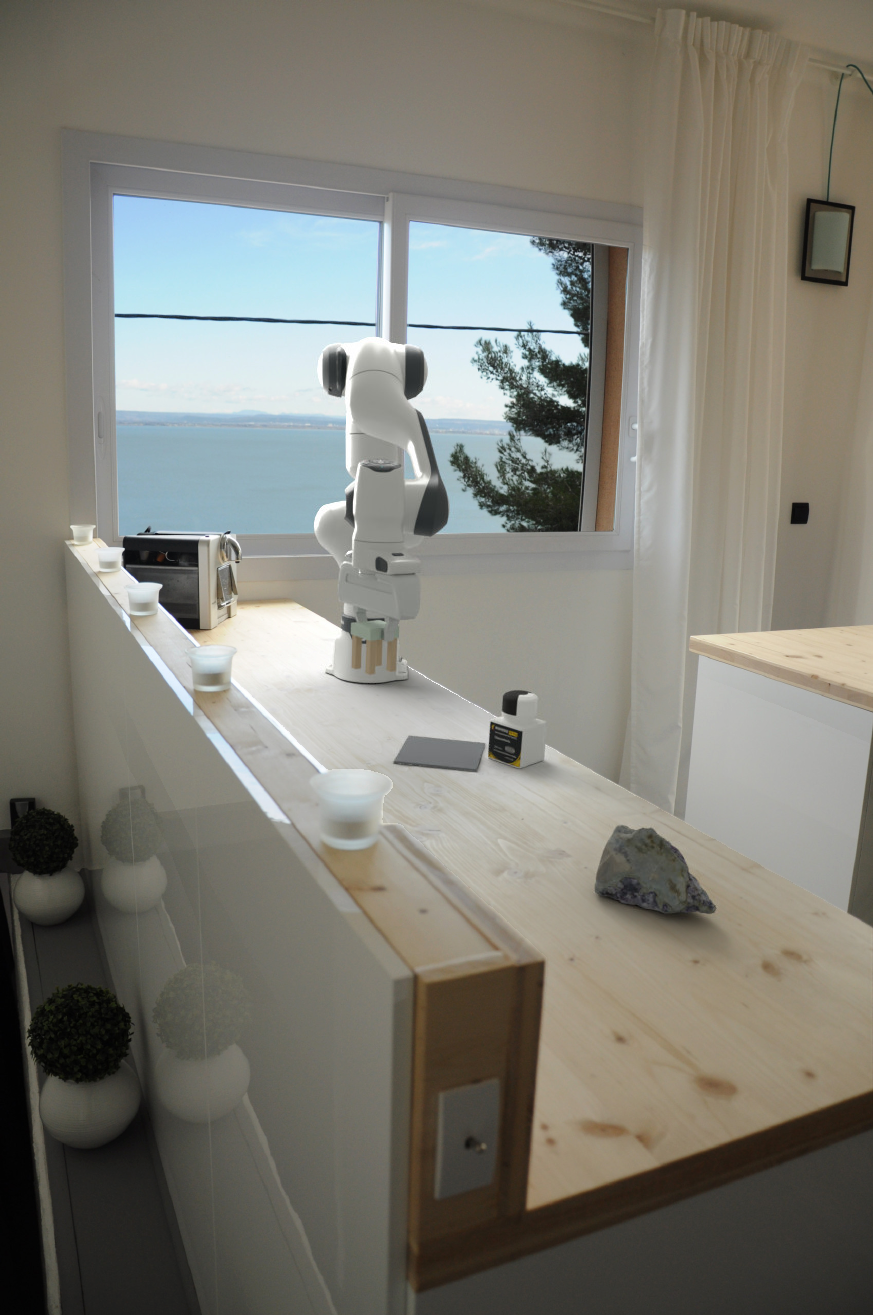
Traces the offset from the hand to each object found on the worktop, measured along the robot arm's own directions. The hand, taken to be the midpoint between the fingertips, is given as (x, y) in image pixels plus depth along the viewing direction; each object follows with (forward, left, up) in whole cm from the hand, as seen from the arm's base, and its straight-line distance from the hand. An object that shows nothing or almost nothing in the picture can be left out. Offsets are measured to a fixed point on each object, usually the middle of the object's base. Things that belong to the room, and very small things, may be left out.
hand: (375, 636), depth 164 cm
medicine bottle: (+1, +26, -20) cm, 33 cm away
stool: (0, 0, -6) cm, 6 cm away
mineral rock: (+50, +45, -20) cm, 70 cm away
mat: (+2, +13, -19) cm, 23 cm away
